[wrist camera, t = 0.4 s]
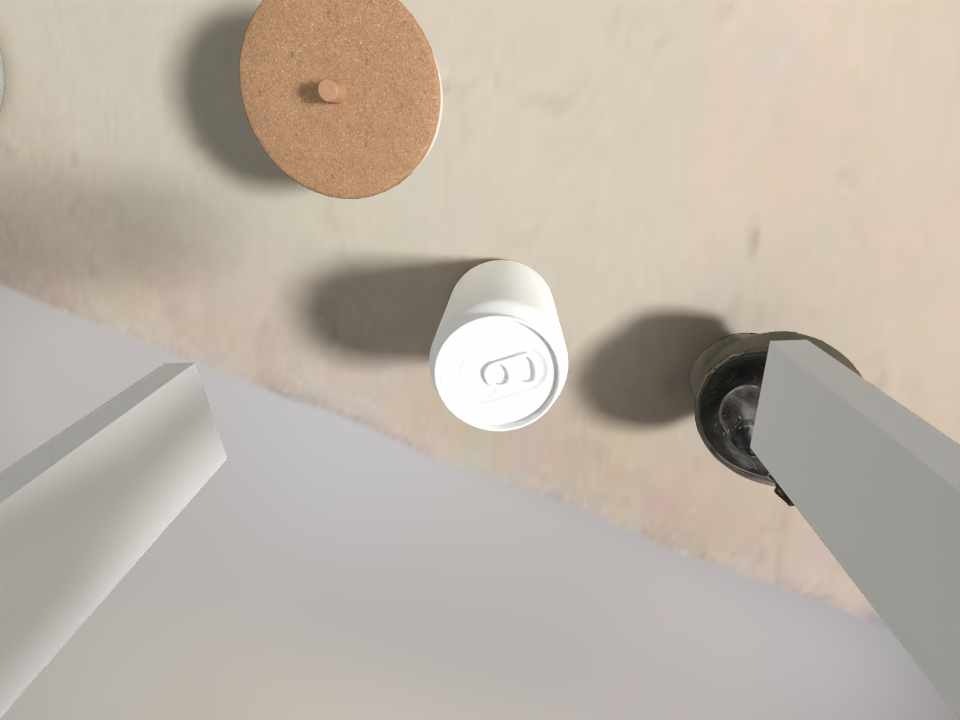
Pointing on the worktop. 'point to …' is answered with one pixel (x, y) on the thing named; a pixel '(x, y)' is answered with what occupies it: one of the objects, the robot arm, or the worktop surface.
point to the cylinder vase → (2, 80)
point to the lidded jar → (341, 92)
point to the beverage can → (499, 348)
